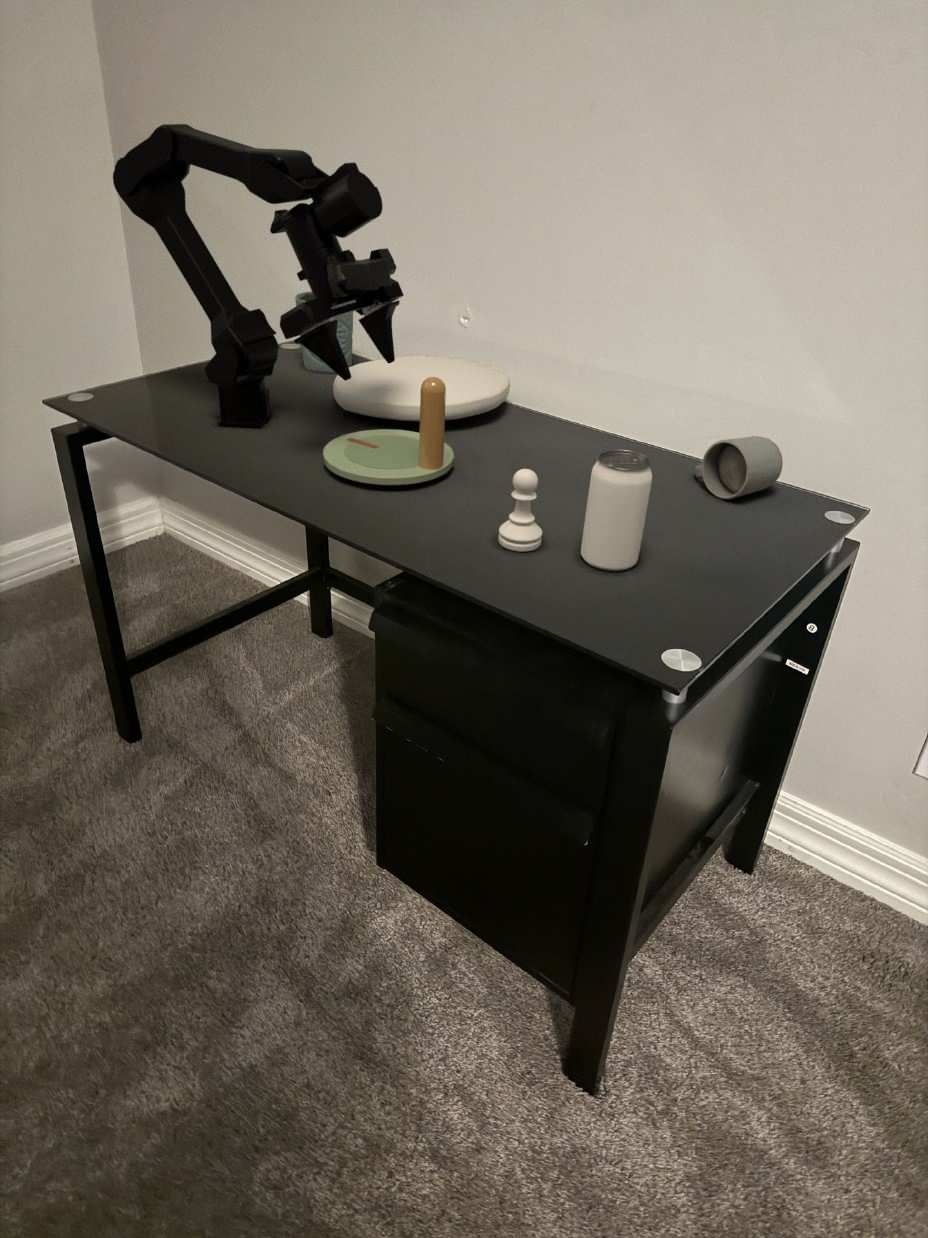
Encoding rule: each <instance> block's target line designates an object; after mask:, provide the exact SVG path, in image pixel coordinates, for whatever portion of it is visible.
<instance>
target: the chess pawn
mask: <svg viewBox="0 0 928 1238" xmlns="http://www.w3.org/2000/svg"><path fill="white" fill-rule="evenodd" d="M538 484H539V478H538V476H537V473H536V472H535V471H533V469H530V468H522V469H519V470H518V471H516V472H515V473H514V475H513V477H512V485H513V488H514V489H513V491H511V495H510V496H511V497H512V498H513V499H516V502H515V506H514V510H513V511H512V512H511V513H510V514H509V515H508V519H507V520H506V521H505V522H504V523H502V524H501V525H500V526H499V527H498V532H499V533H498V539H497V540H498V544H499V545H500V546H501V547H503V548H504V549H507V550H509V551H512V552H519V553H528V552H533V551H536V550H537V549H539V548H540V546H541V545H542V539H543V538H542V537H543V530H542V528H541V527H540V526H539V525H538V524H537V523H536V522H535V519H536V517H535V515H534V514H533V513H532V510H531V501H534V500H536V498H537V497H538V494H537V493H536V492H535V490H536V489H537V488H538Z"/></svg>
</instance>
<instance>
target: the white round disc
mask: <svg viewBox="0 0 928 1238" xmlns="http://www.w3.org/2000/svg"><path fill="white" fill-rule="evenodd" d="M349 370H350V374H351V378H350V379H348V380H346V381H345V380H343V379H342V378H341V377H340V376H339V375H338V374H336V377H335V379H334V380H333V384H332V389H333V397H334V399H335V401H336V403H337V404H338V405H339V406H340V407H341V409H343V410H344V411H347V412H350V413H353V414H358V415H362V416H366V417H371V418H377V419H384V420H393V421H402V422H404V421H405V422H420V389H421V385H422V383H423V381H424V380H425V379H427V378H429V377H437V378H439V379H441V380H442V381H443V382H444V384H445V387H446V404H445V421H450V420H459V419H464V418H468V417H473V416H476V415H481V414H485V413H487V412H490V411H492V410H494V409H496V408H498V407H499V406H500V405H501V404H503V403H504V402H505V401H506V400H507V398H508V396H509V394H510V389H511V381H510V377H509V376H508V375H507V374H506V373H505V372H504V371H502V370H500V369H499V368H496V367H493V366H492V365H489V364H484V363H480V362H476V361H472V360H467V359H461V358H455V357H454V358H453V357H444V356H432V355H413V356H412V355H406V356H395V361H394V362H392V363H387V361H386V360H385V359H384V358H379V359H373V360H369V361H365V362H360V363H357V364H354V365H352V366H351V367H349Z"/></svg>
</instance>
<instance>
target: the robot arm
mask: <svg viewBox="0 0 928 1238" xmlns="http://www.w3.org/2000/svg"><path fill="white" fill-rule="evenodd" d="M191 166H194V167H197V168H200V169H203V170H205V171H209V172H212V173H215V174H217V175H221V176H224V177H227V178H230V179H233V180H236V181H237V182H239V183H241V184H242V185H244V186H245V188H246V189H247V190H248V192H249V193H251V194H252V195H254V196H256V197H258V198H259V199H261V200H263V201H264V202H266V203H267V204H272V205H280V204H285V203H287V204H288V203H294V202H300V203H297V204H295V205H294V206H293V207H292V208H290V209H289V210H288V209H277V210H276V209H275V210H274V213H273V214H274V216H273V219H272V220H273V221H272V223H271V225H270V228H269V232H270V234H272V235H275V234H282V233H285V234H286V236H287V238H288V240H289V243H290V245H291V247H292V249H293V252H294V255H295V256H296V259H297V261H298V263H299V266H300V268H301V270H299V271H298V272H296V276H297V278H298V281H299V282H302V281H306V282H307V285H308V286H309V288H310V291H312V293H313V295H314V297H315V299H314V300H310V301H306V302H303V303H301V304H299V305H298V306H296V305H295V306H294V307H293V308H291V309H290V310H287V311H286V312H284V313H283V314H281V315H280V319H279V328H280V330H281V332H282V334H283V337H284V338H285V340H289V339H293V338H295V337H297V338H295V339H294V340H293V341H294V343H295V344H296V345H298V344H300V345H301V344H302V345H303V346H304V347H306V348H307V349H308V350H310V351H311V352H312V353H313V354H315V355H316V356H317V357H319V358H320V359H321V360H322V361H323V362H324V363H325V364H327V365H328V366H329V367H330V368H331V369H332V370H333V371H334V372H336V375H339V376H340V377H341V378H342V379H343V380H345V381H346V380H348V379H350V378H351V374H350V370H349V367H348V364H347V362H346V359H345V357H344V354H343V351H342V349H341V346H340V344H339V341H338V339H337V335H336V334H337V324H338V320H334V321H329V319H330V318H334V317H337V316H340V315H343V314H347V313H350V312H353V313H354V312H356V313H357V314H358V315H360V316H361V318H359V319H358V322H359V324H360V325H361V327H362V328H363V330H364V331H365V333H366V334H367V335H368V337H369V339H370V340H371V342H372V343H373V345H374V346H375V348H376V349H377V351H378V352H379V354H380V356H381V357H382V359H385V360H386V361H387V363H392V362H394V361H395V357H396V356H395V347H394V336H393V335H394V334H393V316H394V313H395V310H396V307H398V306H400V301H401V300H400V299H401V298H403V297H404V296H405V295H404V292H403V289H402V287H401V284H400V282H399V281H398V280H396V279H393V278H392V275H394V274H395V273H396V270H397V265H396V263H395V260H394V257H393V256H392V254H391V251H390V250H389V248H388V247H386V248H378V249H373V250H370V253H369V258H365V259H356V256H355V255H354V252H353V251H351V249H345V250H343V248H342V246H341V244H340V241H339V239H338V238H341V239H345V238H347V237H349V236H350V235H352V234H354V233H355V232H357V231H358V230H360V229H361V228H363V227H364V226H366V225H368V224H369V223H371V222H372V221H374V220H376V219H377V218H379V217H380V216H381V214H382V212H383V200H382V196H381V193H380V191H379V188H378V187H377V186H376V185H375V184H374V183H373V181H372V180H371V179H370V178H369V177H368V176H367V175H366V174H365V173H363V172H361V171H360V170H359V167H358V164H357V163H356V161H355V162H344V163H343V164H341V165H340V166H339V167H337V169H336V170H335V171H334V172H333V173H332V174H331V175H329V174H328V173H326V172H325V171H323V170H322V169H321V168H319V167H318V166H316V165H315V163H314V162H313V158H312V156H311V155H310V154H309V153H308V152H306V151H304V150H300V149H287V148H260V147H259V148H258V147H253V146H250V145H247V144H244V143H241V142H237V141H235V140H231V139H228V138H225V137H222V136H219V135H216V134H212V133H209V132H206V131H202V130H199V129H198V128H197V129H196V128H194V127H193V126H191V125H189V124H187V123H169V124H168V123H167V124H166V123H165V124H161V125H159V126H158V127H156V128H154V130H153V131H152V133H151V134H150V135H149V137H148V138H146V139H144V140H143V141H141V142H140V143H138V144H137V145H135V146H134V147H133V148H131V149H130V150H129V151H128V152H126V154H125V155H124V156H123V157H120V158H119V159H117V160H116V163H115V165H114V170H113V172H112V183H113V187H114V189H115V191H116V193H117V194H118V196H119V197H120V198H121V200H122V201H123V202H124V204H125V205H126V206H127V207H128V209H129V210H130V212H131V213H132V214H133V215H134V216H136V217H137V218H138V219H140V220H141V221H143V222H144V223H146V224H147V225H148V226H150V227H151V228H153V230H154V231H155V232H156V233H157V235H158V237H159V238H160V241H162V244H163V245H164V247H165V249H166V250H167V252H168V253H169V255H170V257H171V258H172V260H173V262H174V263H175V265H176V267H177V268H178V270H179V272H180V273H181V275H182V277H183V279H184V280H185V282H186V283H187V285H188V287H189V288H190V290H191V291H192V293H193V296H195V298H196V300H197V302H198V303H199V305H200V306H201V308H202V311H204V313H205V315H206V316H207V318H208V320H209V322H210V323H209V324H210V342H211V343H210V344H211V346H212V347H213V349H214V353H215V354H214V355H213V357H212V358H211V359H210V360H209V361H208V363H206V365H205V366H204V369H203V370H204V372H205V375H206V378H207V381H208V383H209V384H213V385H216V386H217V392H218V394H217V395H218V403H219V413H220V418H219V419H218V420H217V425H218V426H230V427H245V428H246V427H248V428H261V427H263V426H264V424H265V423H266V421H267V420H268V419H269V417H270V415H271V414H272V413H271V401H270V388H269V387H266V382H265V378H266V377H270V376H272V375H273V372H274V368H275V363H276V362H277V360H278V356H279V350H280V346H279V343H278V342H279V341H278V340H277V338H276V337H275V335H277V332H276V330H275V329H273V328H272V326H271V324H269V321H268V319H267V317H266V314H265V313H264V312H263V310H261V308H255V309H251V310H249V309H248V308H247V307H246V306H244V305H243V304H242V303H241V302H240V301H239V299H238V297H237V296H236V293H235V292H234V290H233V288H232V287H231V285H230V284H229V282H228V280H227V279H226V277H225V275H224V274H223V272H222V270H221V268H220V266H219V265H218V263H217V261H216V260H215V258H214V256H213V255H212V253H211V252H210V250H209V248H208V246H207V245H206V243H205V242H204V240H203V238H202V237H201V235H200V233H199V231H198V230H197V228H196V226H195V225H194V223H193V221H192V220H191V218H190V216H189V215H188V213H187V205H186V204H187V201H186V189H185V187H184V185H183V183H182V182H183V181H184V180H185V179H186V178H187V177H188V175H189V174H190V169H191ZM310 199H311V200H312V202H311V203H309V204H308V203H305V202H304V201H307V200H310Z"/></svg>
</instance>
